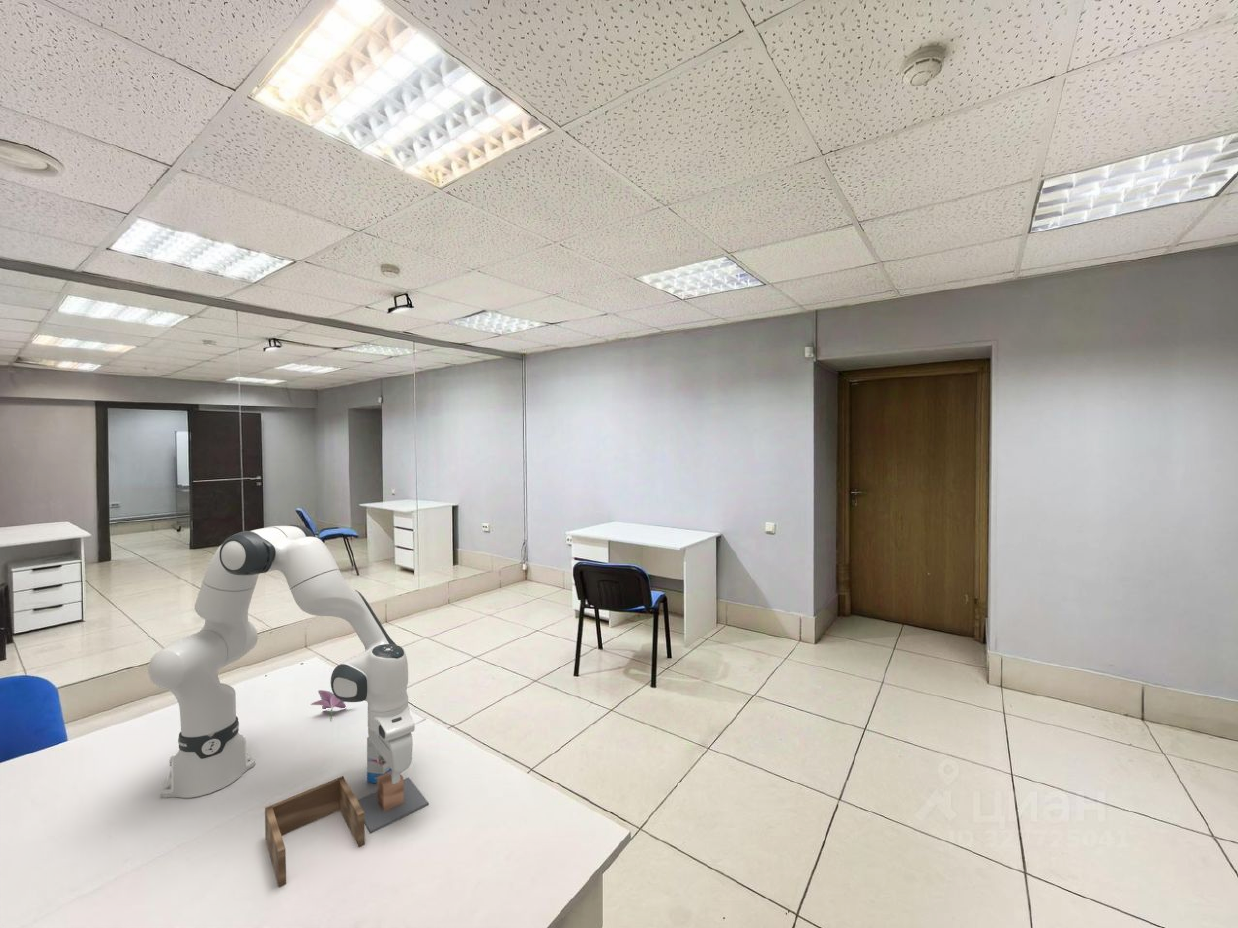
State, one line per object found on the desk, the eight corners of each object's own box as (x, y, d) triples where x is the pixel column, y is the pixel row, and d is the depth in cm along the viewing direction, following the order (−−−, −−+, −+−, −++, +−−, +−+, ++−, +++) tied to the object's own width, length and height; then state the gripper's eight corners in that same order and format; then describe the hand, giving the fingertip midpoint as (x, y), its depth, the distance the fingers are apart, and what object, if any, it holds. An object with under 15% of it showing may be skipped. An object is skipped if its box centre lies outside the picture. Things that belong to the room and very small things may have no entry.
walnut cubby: (265, 838, 108) (264, 807, 108) (343, 804, 119) (343, 775, 118) (278, 886, 96) (278, 851, 96) (364, 843, 106) (364, 811, 106)
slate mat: (353, 803, 119) (353, 801, 119) (408, 778, 128) (408, 776, 128) (370, 833, 109) (370, 831, 109) (428, 804, 118) (428, 802, 118)
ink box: (383, 785, 125) (382, 739, 125) (366, 782, 126) (365, 737, 126) (404, 764, 134) (403, 721, 134) (388, 762, 135) (387, 719, 135)
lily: (362, 714, 162) (361, 683, 166) (336, 718, 151) (336, 684, 155) (329, 724, 163) (328, 693, 167) (301, 728, 152) (301, 695, 156)
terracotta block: (377, 801, 119) (377, 776, 119) (397, 792, 122) (396, 768, 122) (383, 811, 115) (383, 786, 115) (403, 802, 118) (403, 777, 118)
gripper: (361, 702, 124) (361, 757, 124) (388, 737, 109) (388, 799, 109) (387, 694, 128) (387, 747, 128) (417, 727, 113) (417, 786, 113)
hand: (388, 771), depth 118 cm, fingers open, 8 cm apart
